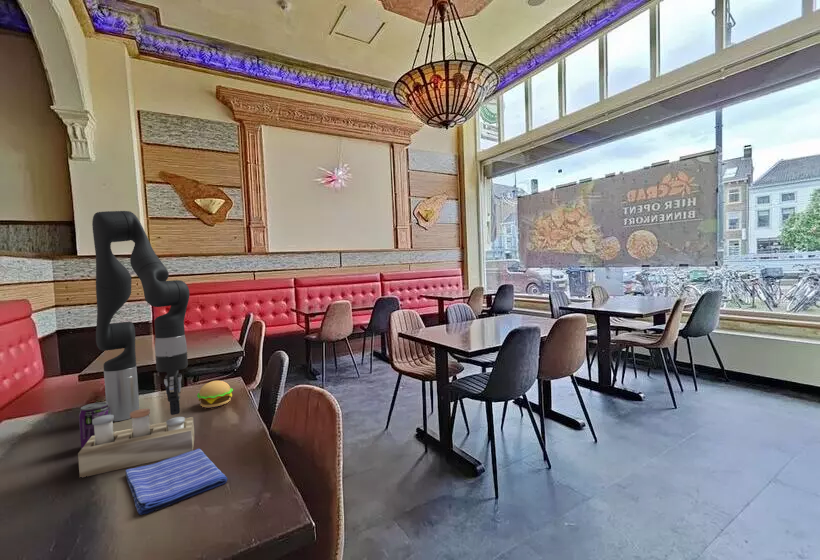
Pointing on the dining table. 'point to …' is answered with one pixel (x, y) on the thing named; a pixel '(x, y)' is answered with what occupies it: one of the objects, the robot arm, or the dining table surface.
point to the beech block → (135, 448)
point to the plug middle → (140, 422)
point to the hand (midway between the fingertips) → (175, 413)
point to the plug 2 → (175, 423)
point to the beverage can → (88, 415)
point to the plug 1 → (103, 429)
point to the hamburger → (215, 394)
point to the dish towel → (172, 480)
